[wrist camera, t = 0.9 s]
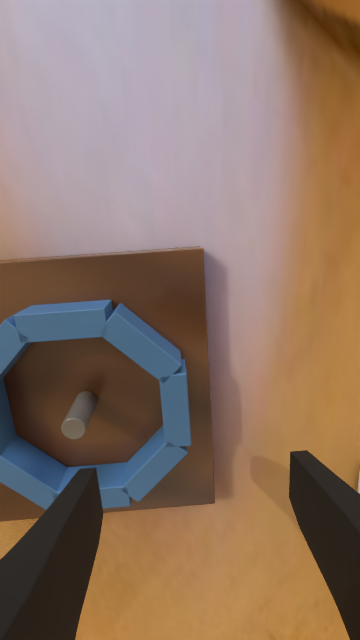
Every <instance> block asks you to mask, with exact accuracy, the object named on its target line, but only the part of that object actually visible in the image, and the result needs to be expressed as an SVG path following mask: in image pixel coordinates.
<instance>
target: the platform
mask: <svg viewBox="0 0 360 640" xmlns="http://www.w3.org/2000/svg"><path fill="white" fill-rule="evenodd" d="M99 300H112V308H113V311H114V310H115V308H116V307H117V306H118V305H119V304H120V303H121V304H123V305H124V306H125V307H127V308H128V309H129V310H130V311H132V312H133V313H134V314H135V315H136V316H138V317H139V318H140V319H141V320H143V321H144V322H145V323H146V324H148V325H149V326H150V327H151V328H153V329H154V330H155V331H156V332H157V333H159V334H160V335H161V336H162V337H164V338H165V339H166V340H167V341H169V342H170V343H171V344H172V345H174V346H175V347H176V348H177V349H179V350H180V353H181V359H185V364H186V372H187V384H188V399H189V414H190V429H191V446H187V449H188V454H187V455H186V456H185V457H184V458H183V459H182V460H181V461H180V462H179V463H178V464H177V465H176V466H175V467H174V468H173V469H172V470H171V471H170V472H169V473H168V474H167V475H166V476H165V477H164V478H163V479H162V480H161V481H160V482H159V483H158V484H157V485H156V486H155V487H154V488H153V489H152V490H151V491H150V492H149V493H148V494H147V495H146V496H145V497H144V498H143V499H142V500H141V501H140V502H137V501H135V500H134V499H132V500H131V506H129V507H117V508H105V509H103V513H107V512H118V511H130V510H142V509H154V508H166V507H178V506H190V505H202V504H214V503H215V495H214V474H213V452H212V431H211V409H210V387H209V366H208V344H207V322H206V301H205V279H204V258H203V248H201V247H199V246H198V247H184V248H169V249H155V250H141V251H127V252H112V253H98V254H84V255H69V256H55V257H41V258H27V259H12V260H0V325H1V324H2V322H3V321H4V320H5V319H7V318H9V317H11V316H12V315H14V314H16V313H18V312H20V311H21V310H24V309H26V308H28V307H29V306H31V305H44V304H58V303H71V302H85V301H99ZM3 379H4V383H5V387H6V392H7V396H8V400H9V405H10V409H11V413H12V417H13V422H14V426H15V430H16V434H17V435H19V436H20V437H22V438H23V439H25V440H26V441H28V442H29V443H31V444H32V445H34V446H36V447H37V448H39V449H40V450H42V451H43V452H45V453H46V454H48V455H49V456H51V457H52V458H54V459H56V460H57V461H59V462H60V463H62V464H63V465H65V466H66V467H74V466H86V465H98V464H111V463H123V462H128V461H129V460H130V459H131V458H132V457H133V455H134V454H135V453H136V452H137V451H138V450H139V449H140V448H141V447H142V446H143V445H144V444H145V443H146V442H147V441H148V440H149V439H150V438H151V437H152V436H153V435H154V434H155V433H156V432H157V431H158V430H159V428H160V427H161V426H162V425H163V417H162V406H161V395H160V385H159V380H157V379H156V378H155V377H153V376H152V375H151V374H150V373H148V372H147V371H146V370H144V369H143V368H142V367H140V366H139V365H138V364H137V363H135V362H134V361H133V360H131V359H130V358H129V357H127V356H126V355H125V354H124V353H122V352H121V351H120V350H118V349H117V348H116V347H114V346H113V345H112V344H111V343H109V342H108V341H107V340H105V339H104V338H103V337H97V338H84V339H70V340H57V341H43V342H32V343H31V344H30V346H29V347H28V348H27V349H26V350H25V352H24V353H23V354H22V355H21V357H20V358H19V359H18V360H17V362H16V363H15V364H14V365H13V367H12V368H11V369H10V370H9V372H8V373H7V374H6V375H5V377H4V378H3ZM45 511H46V510H45V509H43V508H42V507H40V506H39V505H37V504H35V503H34V502H32V501H30V500H29V499H27V498H25V497H24V496H22V495H20V494H19V493H17V492H16V491H14V490H12V489H11V488H9V487H7V486H6V485H4V484H2V483H1V482H0V521H12V520H23V519H35V518H40V517H41V516H42V515H43V513H44V512H45Z"/></svg>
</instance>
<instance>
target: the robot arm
mask: <svg viewBox="0 0 360 640" xmlns="http://www.w3.org/2000/svg"><path fill="white" fill-rule="evenodd" d="M289 498H290V501H291V504H292V507H293V510H294V513H295V516H296V518H297V521H298V524H299V526H300V529H301V531H302V533H303V535H304V537H305V539H306V541H307V544H308V546H309V548H310V550H311V552H312V554H313V556H314V558H315V560H316V562H317V564H318V567H319V569H320V571H321V573H322V575H323V577H324V579H325V581H326V583H327V585H328V587H329V590H330V592H331V594H332V596H333V598H334V600H335V603H336V605H337V607H338V610H339V612H340V615H341V617H342V620H343V622H344V625H345V628H346V630H347V633H348V635H349V638H350V640H360V471H359V481H358V491H355V490H354V489H353V488H351V487H350V486H349V485H348V484H346V483H345V482H344V481H343V480H342V479H340V478H339V477H338V476H337V475H335V474H334V473H333V472H332V471H331V470H329V469H328V468H327V467H326V466H325V465H324V464H322V463H321V462H320V461H319V460H318V459H316V458H315V457H314V456H313V455H312V454H311V453H309V452H308V451H307V450H306V451H294V452H290V485H289ZM102 519H103V507H102V501H101V495H100V489H99V482H98V476H97V470H96V468H84V469H79V470H78V471H77V472H76V474H75V475H74V476H73V477H72V479H71V480H70V481H69V482H68V484H67V485H66V486H65V488H64V489H63V490H62V491H61V493H60V494H59V495H58V496H57V498H56V499H55V500H54V501H53V503H52V504H51V505H50V506H49V507H48V509H47V510H46V511H45V512H44V513H43V515H42V516H41V517H40V518H39V519H38V520H37V522H36V523H35V524H34V525H33V526H32V527H31V528H30V529H29V530H28V532H27V533H26V534H25V535H24V536H23V537H22V538H21V539H20V540H19V541H18V543H17V544H16V545H15V546H14V547H13V548H12V549H11V550H10V551H9V552H8V553H7V554H6V555H5V556H4V557H3V558H2V559H1V560H0V640H75V637H76V632H77V627H78V623H79V618H80V614H81V610H82V607H83V603H84V599H85V595H86V591H87V587H88V584H89V580H90V576H91V572H92V568H93V564H94V560H95V556H96V553H97V549H98V544H99V539H100V533H101V526H102Z"/></svg>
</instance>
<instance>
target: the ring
mask: <svg viewBox="0 0 360 640" xmlns="http://www.w3.org/2000/svg"><path fill="white" fill-rule="evenodd" d="M97 337H103V338H104V339H105V340H107V341H108V342H109V343H111V344H112V345H113V346H114V347H116V348H117V349H118V350H120V351H121V352H122V353H124V354H125V355H126V356H127V357H129V358H130V359H131V360H133V361H134V362H135V363H137V364H138V365H139V366H140V367H142V368H143V369H144V370H146V371H147V372H148V373H150V374H151V375H152V376H153V377H155V378H156V379H157V380H159V385H160V395H161V406H162V417H163V425H162V426H161V427H160V428H159V430H158V431H157V432H156V433H155V434H154V435H153V436H152V437H151V438H150V439H149V440H148V441H147V442H146V443H145V444H144V445H143V446H142V447H141V448H140V449H139V450H138V451H137V452H136V453H135V454H134V455H133V457H132V458H131V459H130V460H129V461H128V462H123V463H111V464H98V465H86V466H74V467H66V466H65V465H63V464H62V463H60V462H59V461H57V460H56V459H54V458H52V457H51V456H49V455H48V454H46V453H45V452H43V451H42V450H40V449H39V448H37V447H36V446H34V445H32V444H31V443H29V442H28V441H26V440H25V439H23V438H22V437H20V436H19V435H17V434H16V430H15V426H14V422H13V417H12V413H11V409H10V405H9V400H8V396H7V392H6V387H5V383H4V379H3V378H4V377H5V375H6V374H7V373H8V372H9V370H10V369H11V368H12V367H13V365H14V364H15V363H16V362H17V360H18V359H19V358H20V357H21V355H22V354H23V353H24V352H25V350H26V349H27V348H28V347H29V346H30V344H31V343H32V342H43V341H57V340H70V339H84V338H97ZM187 446H191V429H190V414H189V399H188V384H187V372H186V364H185V359H181V353H180V350H179V349H177V348H176V347H175V346H174V345H172V344H171V343H170V342H169V341H167V340H166V339H165V338H164V337H162V336H161V335H160V334H159V333H157V332H156V331H155V330H154V329H153V328H151V327H150V326H149V325H148V324H146V323H145V322H144V321H143V320H141V319H140V318H139V317H138V316H136V315H135V314H134V313H133V312H132V311H130V310H129V309H128V308H127V307H125V306H124V305H123V304H121V303H120V304H119V305H118V306H117V307H116V308H115V310H114V311H113V308H112V300H99V301H85V302H71V303H58V304H44V305H31V306H29V307H28V308H26V309H24V310H21V311H20V312H18V313H16V314H14V315H12V316H11V317H9V318H7V319H5V320H4V321H3V322H2V324H1V325H0V482H1V483H2V484H4V485H6V486H7V487H9V488H11V489H12V490H14V491H16V492H17V493H19V494H20V495H22V496H24V497H25V498H27V499H29V500H30V501H32V502H34V503H35V504H37V505H39V506H40V507H42V508H43V509H45V510H47V509H48V507H49V506H50V505H51V504H52V503H53V501H54V500H55V499H56V498H57V496H58V495H59V494H60V493H61V491H62V490H63V489H64V488H65V486H66V485H67V484H68V482H69V481H70V480H71V479H72V477H73V476H74V475H75V474H76V472H77V471H78V470H79V469H84V468H96V470H97V476H98V482H99V489H100V495H101V501H102V507H103V509H105V508H117V507H129V506H131V500H132V499H134V500H135V501H137V502H140V501H141V500H142V499H143V498H144V497H145V496H146V495H147V494H148V493H149V492H150V491H151V490H152V489H153V488H154V487H155V486H156V485H157V484H158V483H159V482H160V481H161V480H162V479H163V478H164V477H165V476H166V475H167V474H168V473H169V472H170V471H171V470H172V469H173V468H174V467H175V466H176V465H177V464H178V463H179V462H180V461H181V460H182V459H183V458H184V457H185V456H186V455H187V454H188V449H187Z"/></svg>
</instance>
